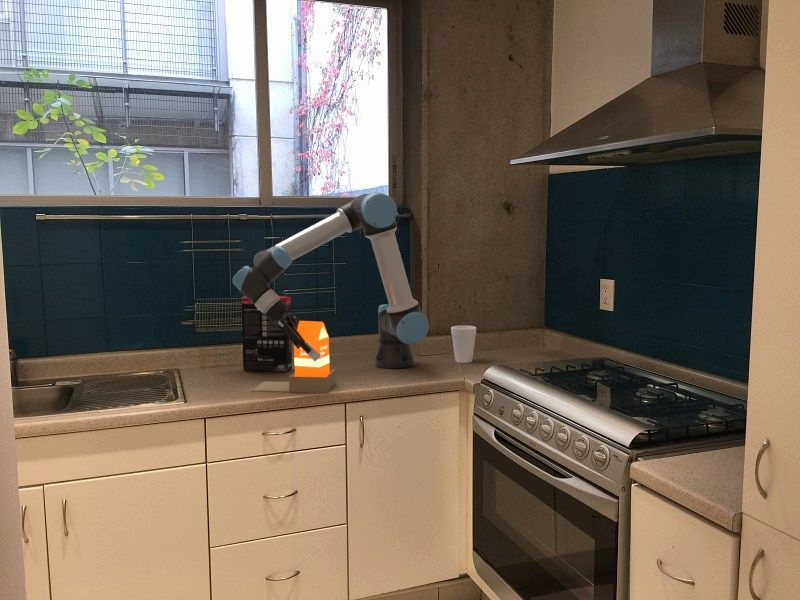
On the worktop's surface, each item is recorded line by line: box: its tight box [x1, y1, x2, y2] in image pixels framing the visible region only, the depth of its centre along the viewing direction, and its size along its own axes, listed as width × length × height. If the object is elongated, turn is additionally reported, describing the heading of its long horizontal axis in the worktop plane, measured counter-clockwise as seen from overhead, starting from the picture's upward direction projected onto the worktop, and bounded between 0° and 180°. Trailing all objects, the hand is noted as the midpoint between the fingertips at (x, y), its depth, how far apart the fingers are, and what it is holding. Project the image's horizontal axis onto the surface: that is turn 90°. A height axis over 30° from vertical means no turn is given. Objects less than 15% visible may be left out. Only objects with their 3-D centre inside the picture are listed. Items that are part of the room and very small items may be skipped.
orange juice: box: [293, 320, 331, 377], centre depth 224 cm, size 8×9×20 cm
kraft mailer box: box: [251, 368, 337, 394], centre depth 226 cm, size 25×12×5 cm, turn 82°
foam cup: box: [450, 325, 477, 364], centre depth 264 cm, size 10×9×13 cm
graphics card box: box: [240, 295, 293, 373], centre depth 251 cm, size 17×7×27 cm, turn 84°
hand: (321, 355), depth 223 cm, fingers closed on orange juice, 9 cm apart
